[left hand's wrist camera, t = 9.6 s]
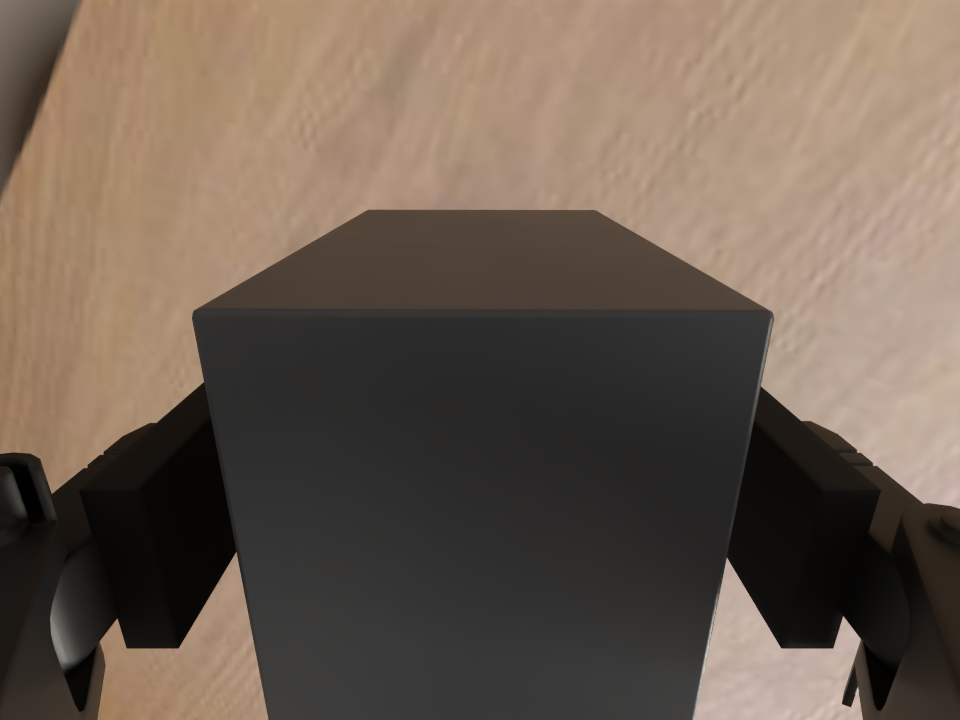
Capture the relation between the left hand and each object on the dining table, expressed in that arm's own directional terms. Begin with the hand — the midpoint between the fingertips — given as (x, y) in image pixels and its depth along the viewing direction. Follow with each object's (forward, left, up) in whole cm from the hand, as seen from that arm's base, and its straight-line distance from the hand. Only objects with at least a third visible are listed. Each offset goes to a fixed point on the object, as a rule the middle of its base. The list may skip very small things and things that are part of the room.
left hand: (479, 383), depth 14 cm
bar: (+5, +5, -1) cm, 8 cm away
